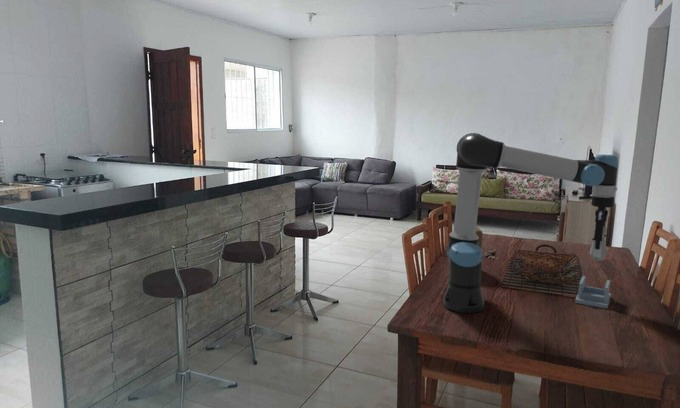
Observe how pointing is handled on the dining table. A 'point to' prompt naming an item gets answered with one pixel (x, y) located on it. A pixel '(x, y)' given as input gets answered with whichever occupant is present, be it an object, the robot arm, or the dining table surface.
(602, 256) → the salt shaker
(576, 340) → the dining table surface
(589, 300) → the blue bracket with posts
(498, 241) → the dining table surface
